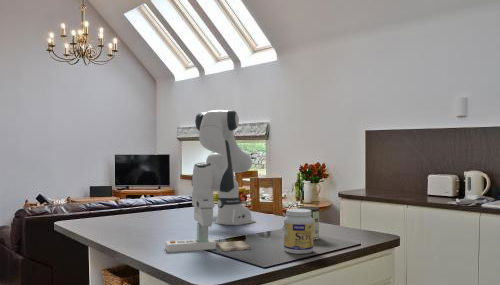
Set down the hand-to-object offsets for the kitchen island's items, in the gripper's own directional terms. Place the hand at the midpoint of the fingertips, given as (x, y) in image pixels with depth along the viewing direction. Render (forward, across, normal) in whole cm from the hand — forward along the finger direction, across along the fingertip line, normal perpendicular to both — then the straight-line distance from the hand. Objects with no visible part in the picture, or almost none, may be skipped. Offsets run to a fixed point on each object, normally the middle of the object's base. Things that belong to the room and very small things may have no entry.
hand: (202, 233), depth 194 cm
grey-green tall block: (+6, 0, 0) cm, 6 cm away
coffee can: (+6, -6, +52) cm, 53 cm away
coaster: (+6, +2, +13) cm, 14 cm away
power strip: (+6, 0, -5) cm, 8 cm away
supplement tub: (+6, +17, +37) cm, 41 cm away
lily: (+6, -28, +52) cm, 59 cm away
